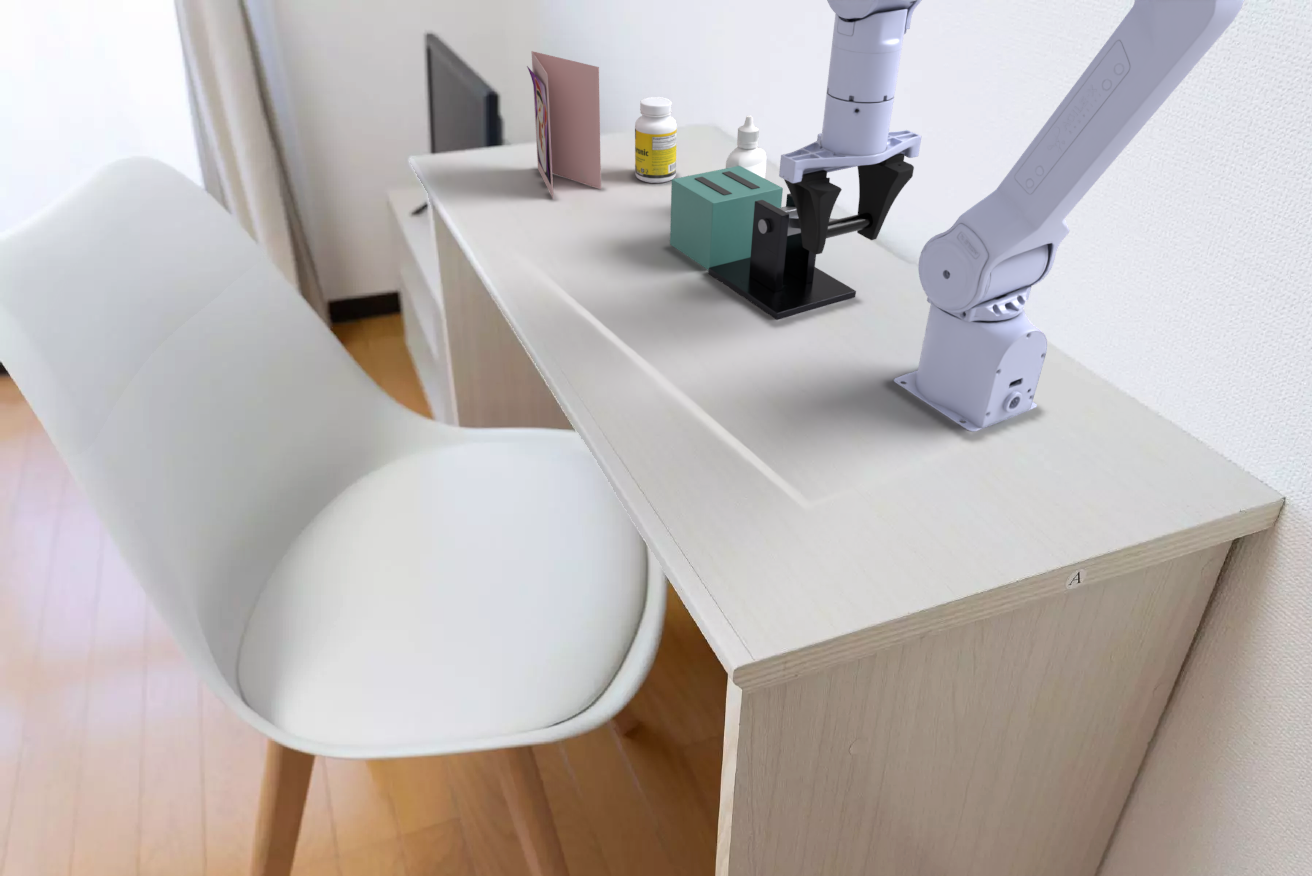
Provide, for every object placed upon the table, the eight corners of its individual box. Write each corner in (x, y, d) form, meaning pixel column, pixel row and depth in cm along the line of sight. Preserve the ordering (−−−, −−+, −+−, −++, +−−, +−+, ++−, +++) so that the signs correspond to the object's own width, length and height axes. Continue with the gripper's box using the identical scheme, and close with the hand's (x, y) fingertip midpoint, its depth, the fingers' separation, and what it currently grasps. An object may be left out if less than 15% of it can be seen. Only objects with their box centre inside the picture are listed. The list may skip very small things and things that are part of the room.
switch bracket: (854, 301, 98) (867, 214, 93) (776, 324, 94) (784, 234, 89) (783, 258, 107) (791, 176, 101) (707, 277, 102) (712, 193, 97)
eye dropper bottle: (771, 221, 115) (780, 119, 109) (728, 226, 114) (734, 124, 107) (756, 208, 119) (763, 109, 112) (713, 213, 117) (719, 113, 110)
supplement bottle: (629, 171, 129) (629, 96, 123) (668, 168, 130) (670, 93, 125) (641, 185, 125) (641, 108, 119) (681, 181, 126) (683, 105, 120)
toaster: (776, 257, 107) (783, 186, 102) (709, 275, 103) (712, 202, 98) (735, 232, 112) (739, 164, 108) (669, 248, 108) (671, 178, 104)
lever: (873, 233, 90) (872, 207, 89) (823, 246, 88) (821, 219, 87) (802, 226, 99) (800, 202, 98) (755, 237, 96) (752, 213, 95)
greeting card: (531, 169, 129) (524, 51, 120) (585, 164, 131) (582, 48, 122) (546, 199, 120) (540, 75, 111) (604, 194, 122) (602, 71, 113)
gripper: (891, 72, 88) (870, 214, 96) (763, 93, 82) (751, 242, 90) (948, 91, 83) (920, 239, 91) (816, 115, 77) (799, 271, 85)
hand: (840, 242), depth 90 cm, fingers closed on lever, 6 cm apart
